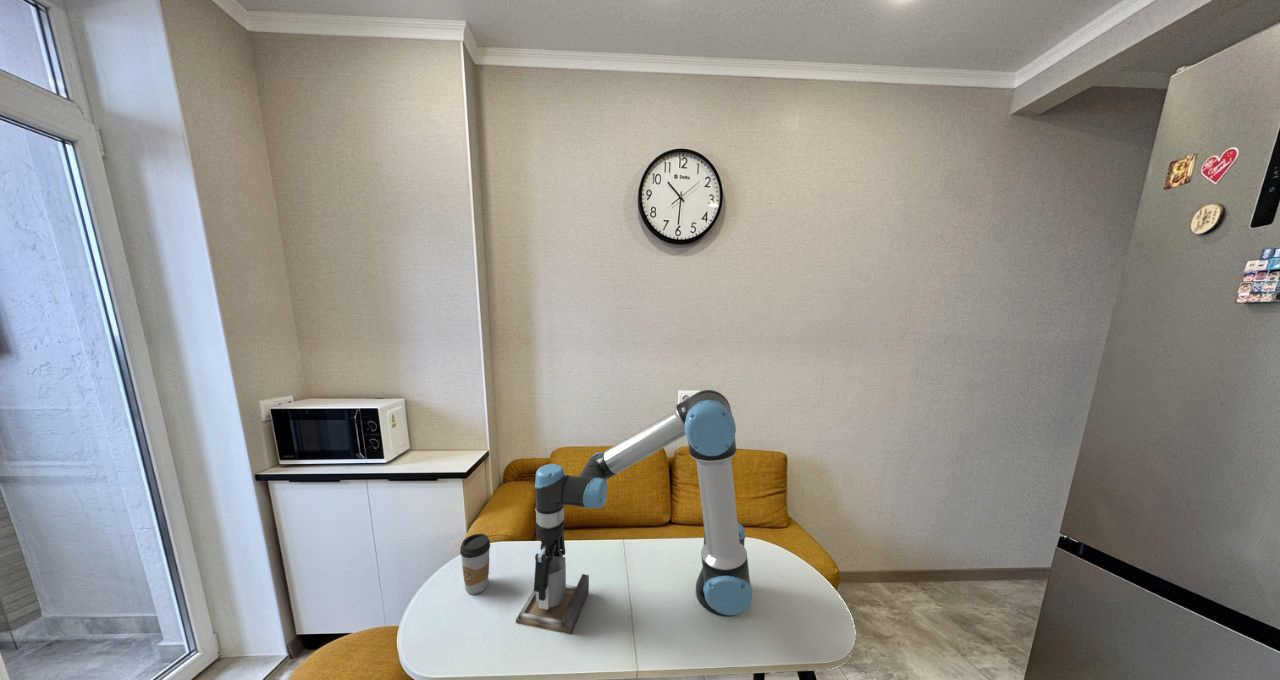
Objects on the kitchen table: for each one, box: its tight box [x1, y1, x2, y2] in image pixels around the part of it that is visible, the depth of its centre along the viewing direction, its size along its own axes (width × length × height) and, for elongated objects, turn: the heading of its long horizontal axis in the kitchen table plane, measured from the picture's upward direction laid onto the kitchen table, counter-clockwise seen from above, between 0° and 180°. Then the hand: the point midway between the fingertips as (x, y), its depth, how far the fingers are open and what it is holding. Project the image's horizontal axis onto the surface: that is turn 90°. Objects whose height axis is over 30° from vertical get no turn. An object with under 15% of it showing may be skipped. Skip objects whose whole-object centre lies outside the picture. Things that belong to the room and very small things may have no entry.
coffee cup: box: [459, 533, 491, 595], centre depth 114 cm, size 8×8×15 cm
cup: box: [534, 555, 567, 607], centre depth 107 cm, size 8×8×10 cm
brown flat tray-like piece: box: [515, 573, 590, 635], centre depth 108 cm, size 16×14×6 cm
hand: (550, 594), depth 108 cm, fingers closed on cup, 8 cm apart
